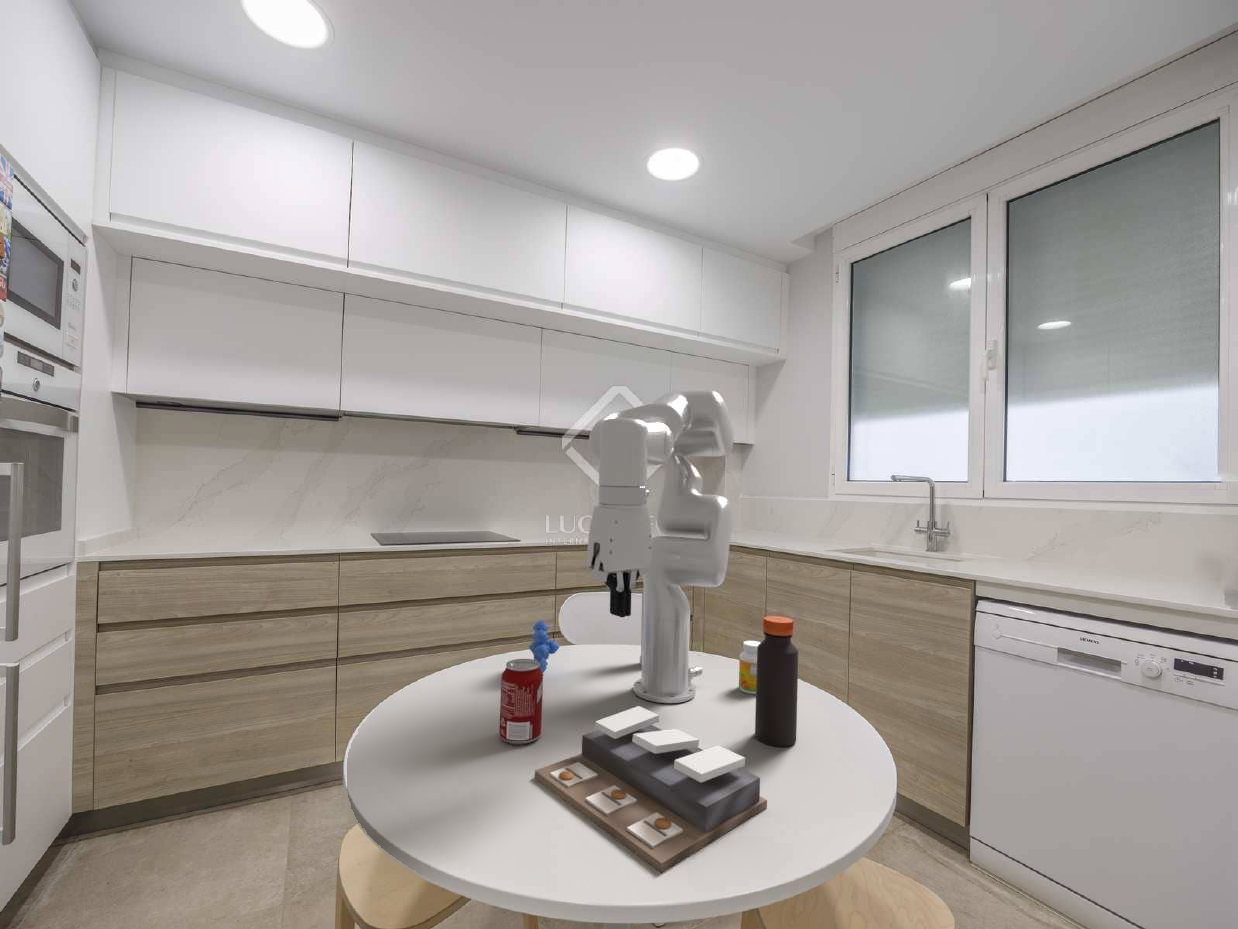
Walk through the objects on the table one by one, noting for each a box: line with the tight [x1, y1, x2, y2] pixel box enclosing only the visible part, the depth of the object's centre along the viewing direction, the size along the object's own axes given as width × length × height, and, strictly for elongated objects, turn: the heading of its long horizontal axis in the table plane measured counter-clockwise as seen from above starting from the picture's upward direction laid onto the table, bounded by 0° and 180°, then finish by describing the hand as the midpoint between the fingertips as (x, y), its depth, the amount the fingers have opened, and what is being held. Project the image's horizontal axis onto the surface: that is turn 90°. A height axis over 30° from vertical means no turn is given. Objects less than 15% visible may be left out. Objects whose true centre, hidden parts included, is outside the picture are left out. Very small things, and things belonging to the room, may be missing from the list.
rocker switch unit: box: [534, 724, 768, 873], centre depth 77 cm, size 20×25×4 cm
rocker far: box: [594, 705, 660, 739], centre depth 86 cm, size 9×4×1 cm, turn 132°
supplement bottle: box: [738, 640, 761, 695], centre depth 118 cm, size 5×5×10 cm
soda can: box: [498, 658, 544, 746], centre depth 93 cm, size 7×7×12 cm
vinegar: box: [754, 615, 799, 748], centre depth 96 cm, size 7×7×20 cm
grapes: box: [528, 620, 560, 674], centre depth 123 cm, size 12×7×12 cm, turn 11°
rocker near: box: [674, 745, 746, 782], centre depth 74 cm, size 9×4×1 cm, turn 132°
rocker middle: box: [632, 728, 700, 754], centre depth 80 cm, size 9×4×1 cm, turn 131°
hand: (620, 614), depth 88 cm, fingers closed
